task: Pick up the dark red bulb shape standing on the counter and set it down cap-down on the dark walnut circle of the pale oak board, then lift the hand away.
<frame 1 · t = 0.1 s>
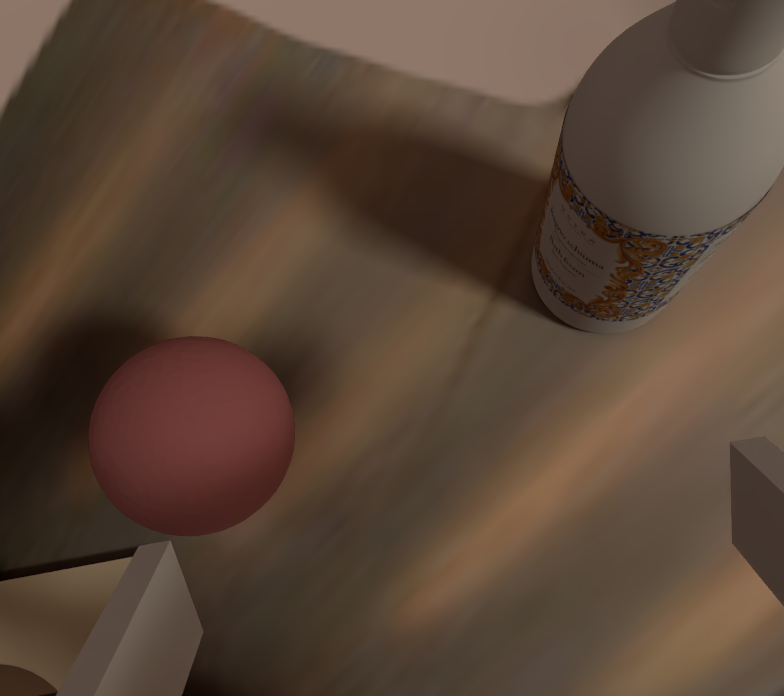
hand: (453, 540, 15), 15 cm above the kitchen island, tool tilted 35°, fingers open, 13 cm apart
dark red bulb shape: (264, 458, 32), on the kitchen island
bath foam: (600, 271, 33), on the kitchen island
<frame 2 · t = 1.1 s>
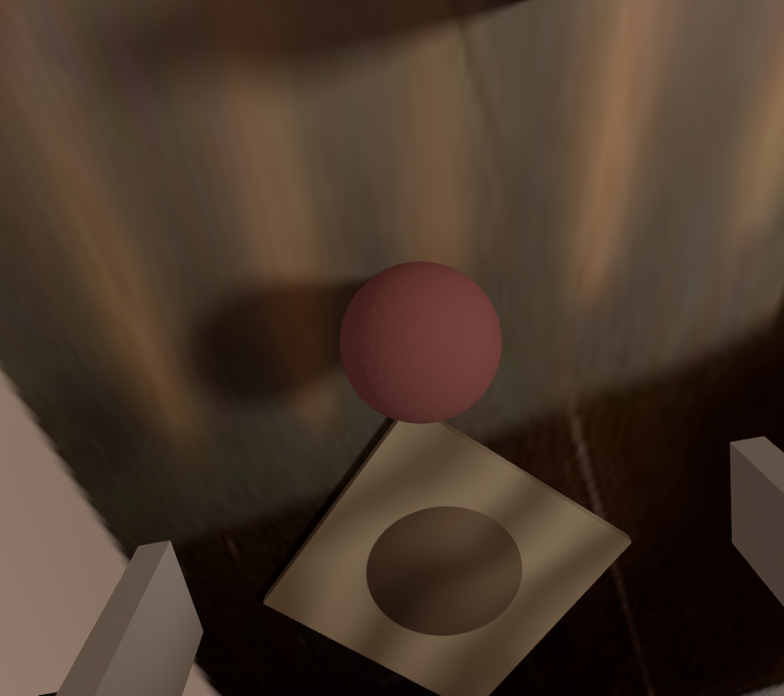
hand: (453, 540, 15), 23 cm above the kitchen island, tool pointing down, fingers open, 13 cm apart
seat board: (443, 565, 43), on the kitchen island
dark red bulb shape: (413, 293, 37), on the kitchen island
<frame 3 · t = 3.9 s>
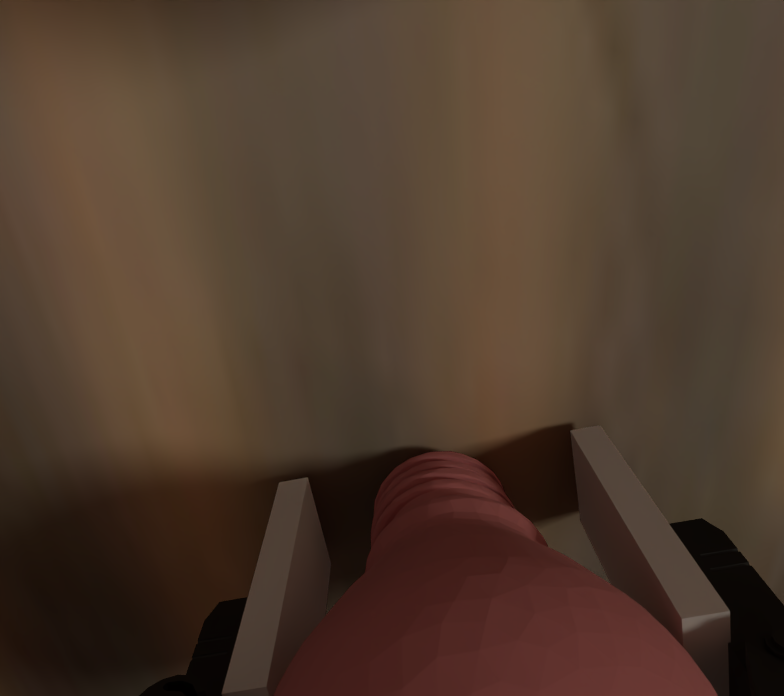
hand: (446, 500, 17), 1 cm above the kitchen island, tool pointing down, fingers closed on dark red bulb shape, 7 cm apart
dark red bulb shape: (443, 485, 18), on the kitchen island, touching gripper
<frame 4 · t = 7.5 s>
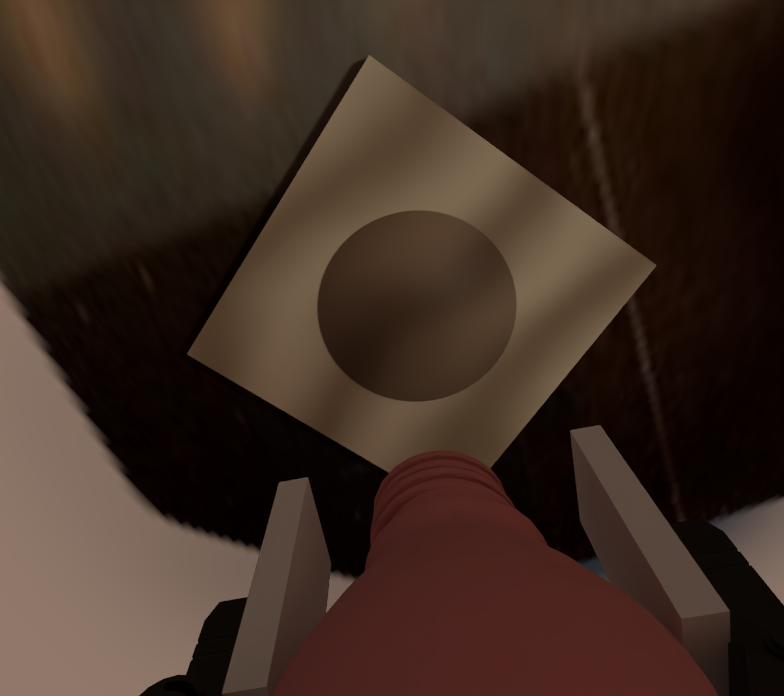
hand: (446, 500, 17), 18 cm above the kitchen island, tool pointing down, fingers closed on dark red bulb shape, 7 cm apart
seat board: (416, 306, 34), on the kitchen island
dark red bulb shape: (443, 484, 18), point 17 cm above the kitchen island, touching gripper
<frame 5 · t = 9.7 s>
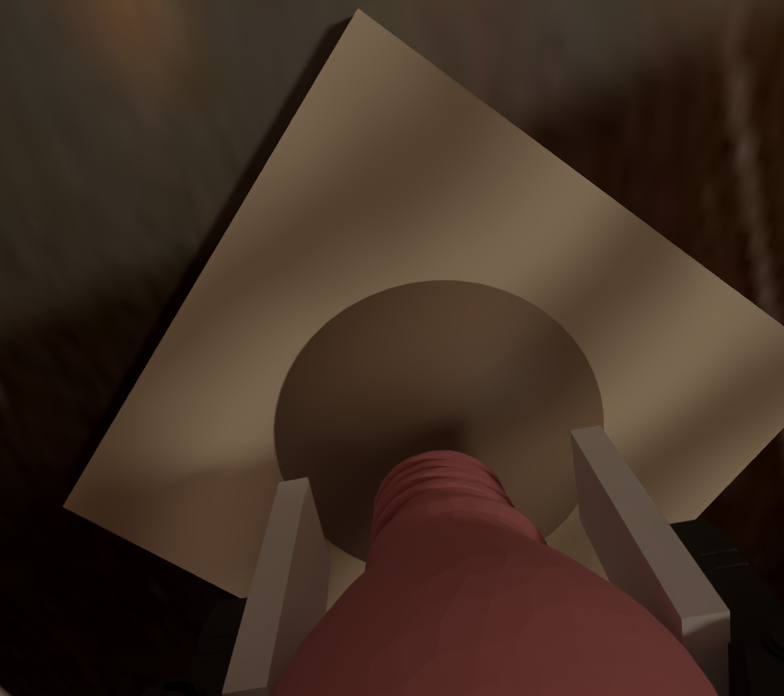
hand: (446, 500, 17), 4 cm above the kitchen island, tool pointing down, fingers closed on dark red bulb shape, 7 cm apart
seat board: (437, 428, 21), on the kitchen island
dark red bulb shape: (443, 484, 18), point 3 cm above the kitchen island, touching gripper
when the fingers open (2 cm above the kitchen island, at t = 11.6 s): dark red bulb shape stays where it is, resting on seat board.
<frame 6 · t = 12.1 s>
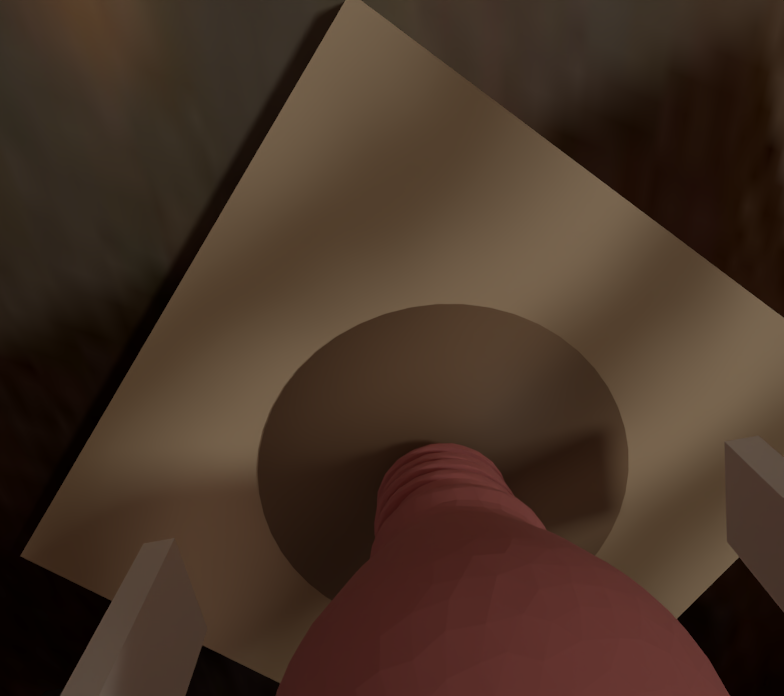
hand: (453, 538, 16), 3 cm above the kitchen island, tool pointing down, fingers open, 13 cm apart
seat board: (440, 466, 19), on the kitchen island
dark red bulb shape: (445, 477, 18), point 1 cm above the kitchen island, touching seat board
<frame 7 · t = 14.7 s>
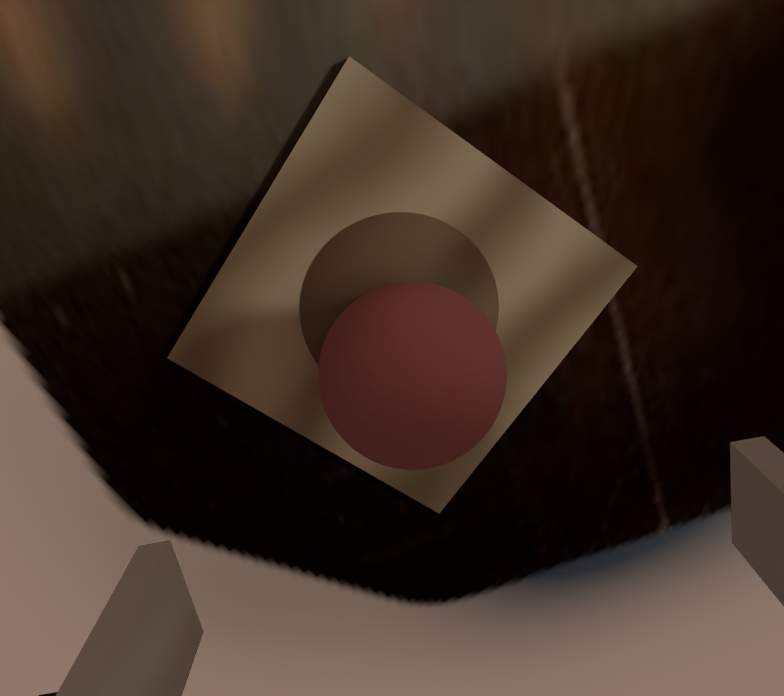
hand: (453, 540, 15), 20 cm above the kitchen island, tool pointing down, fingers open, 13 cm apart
seat board: (398, 308, 34), on the kitchen island
dark red bulb shape: (400, 311, 33), point 1 cm above the kitchen island, touching seat board
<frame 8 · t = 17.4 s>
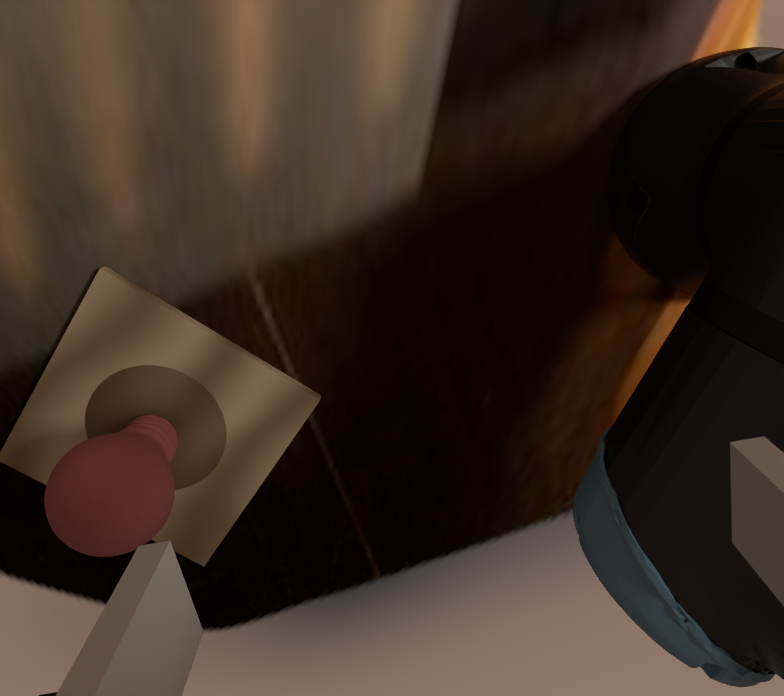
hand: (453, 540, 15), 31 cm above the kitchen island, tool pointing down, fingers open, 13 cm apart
seat board: (159, 425, 48), on the kitchen island
dark red bulb shape: (157, 428, 48), point 1 cm above the kitchen island, touching seat board
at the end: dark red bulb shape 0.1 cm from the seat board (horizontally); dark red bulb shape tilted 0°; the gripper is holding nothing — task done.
